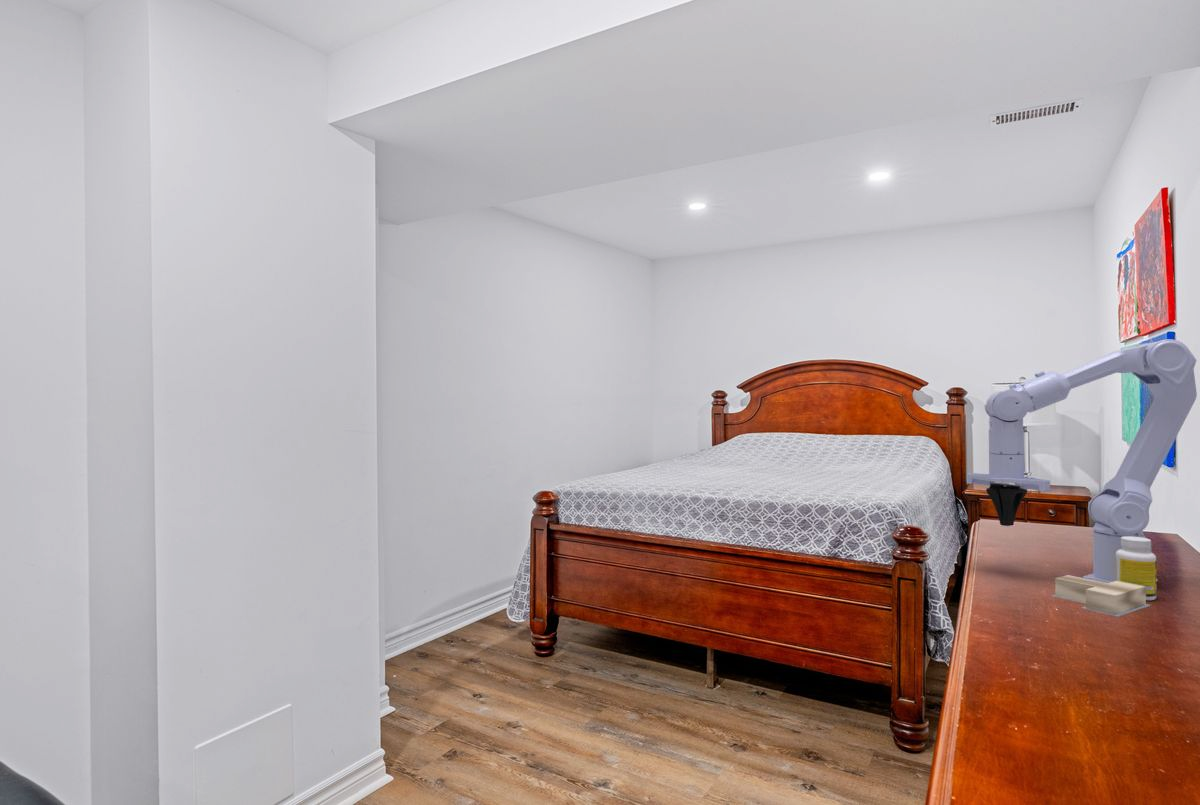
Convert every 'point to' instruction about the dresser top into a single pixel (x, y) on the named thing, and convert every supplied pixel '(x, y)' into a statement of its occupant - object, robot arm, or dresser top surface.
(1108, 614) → the slate t outline
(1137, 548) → the supplement bottle
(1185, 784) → the dresser top surface
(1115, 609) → the maple t block
